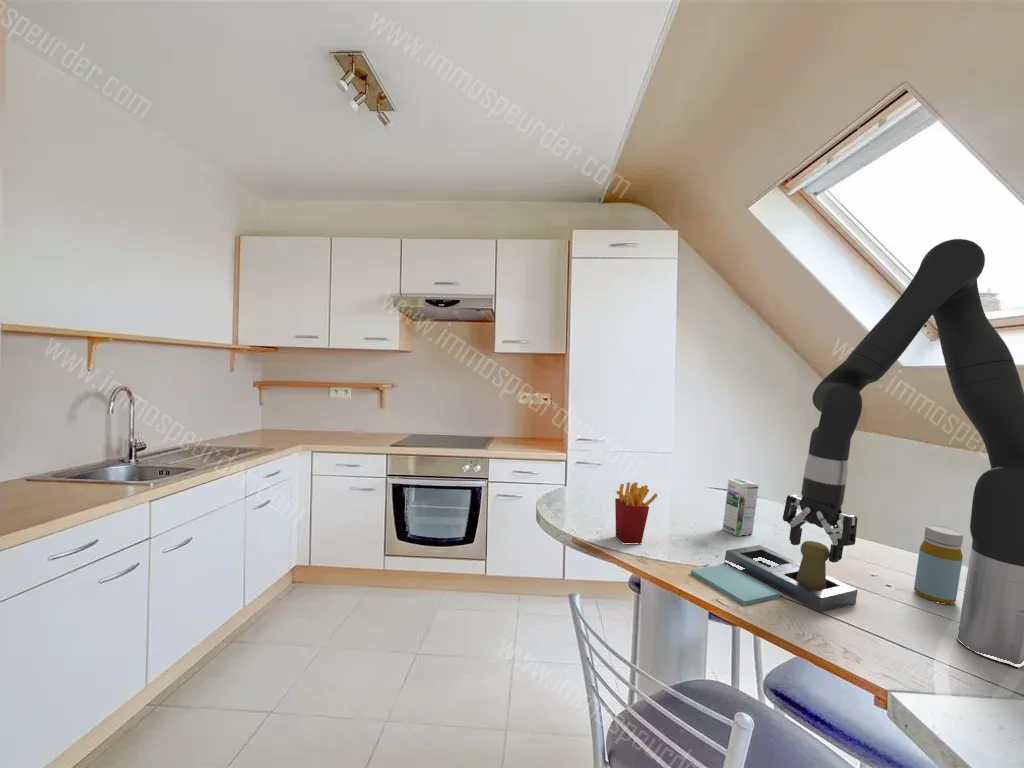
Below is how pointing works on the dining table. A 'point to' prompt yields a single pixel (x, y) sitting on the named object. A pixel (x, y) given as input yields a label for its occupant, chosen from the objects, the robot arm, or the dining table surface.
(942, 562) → the bottle
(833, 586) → the two-slot holder tray
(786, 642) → the dining table surface
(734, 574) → the board
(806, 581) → the cork
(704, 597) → the dining table surface
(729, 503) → the syrup box
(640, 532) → the french fries
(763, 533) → the dining table surface
